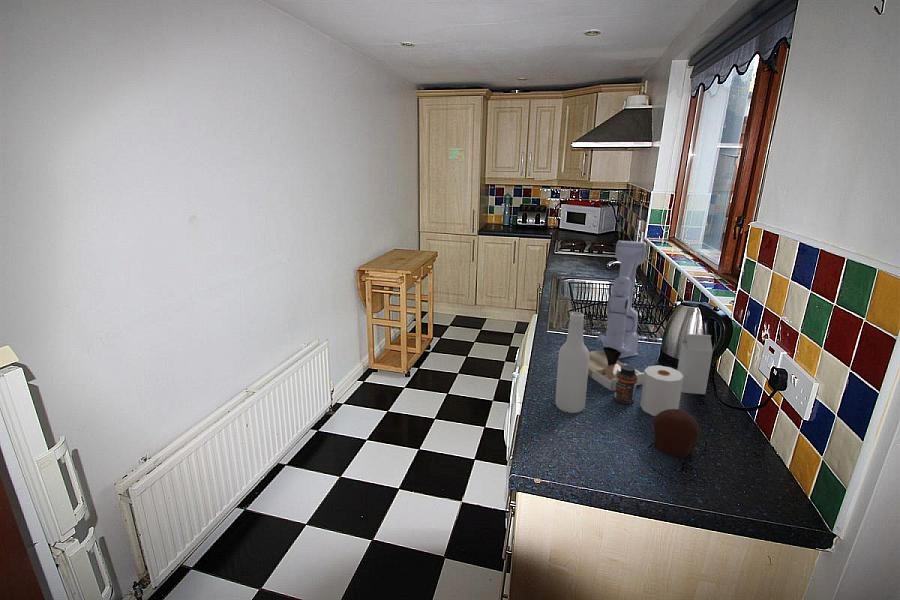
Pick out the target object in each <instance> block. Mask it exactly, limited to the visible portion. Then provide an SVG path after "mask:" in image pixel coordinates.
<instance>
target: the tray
mask: <svg viewBox="0 0 900 600" xmlns="http://www.w3.org/2000/svg"><path fill="white" fill-rule="evenodd" d="M623 364H624V365H628V364H627V363H623ZM635 374H636V375H637V384H636V387H637V386H643V378H644V372H640V371H639V370H637V369H636V368H635ZM591 379H592V380H594V381H596V382H597V383H598V384H600V385H601V386H603V387H604V388H606V389H607V390H608V391H610V392H615V387H616V378H615V379H610V378H609V377H608V376H607V375H606V374H605V375H601V374H600V373H598V372H596V371H595V370H592V378H591Z"/></svg>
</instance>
